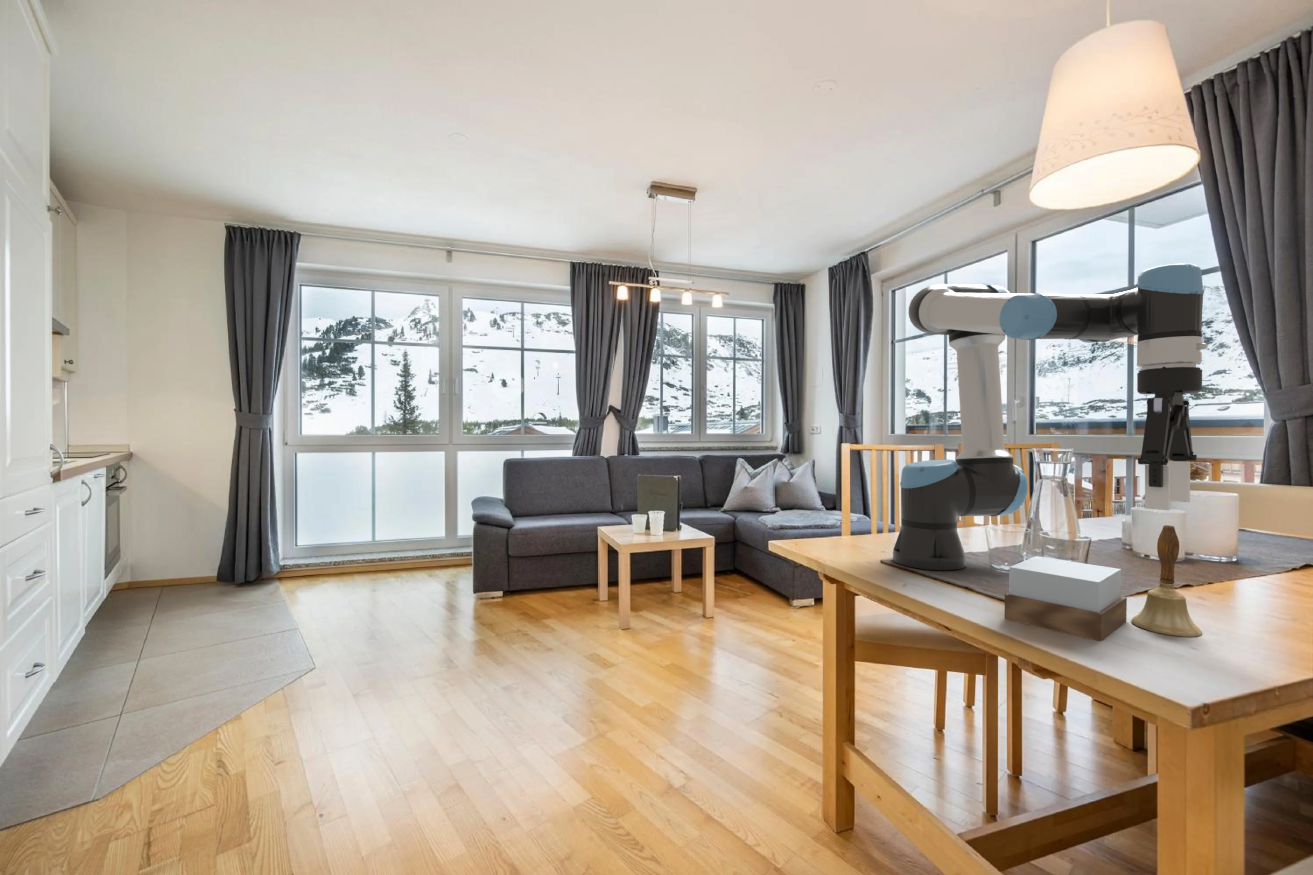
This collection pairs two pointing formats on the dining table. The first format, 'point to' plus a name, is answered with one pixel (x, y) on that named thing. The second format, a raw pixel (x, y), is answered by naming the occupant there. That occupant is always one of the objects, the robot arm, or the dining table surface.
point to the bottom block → (1067, 616)
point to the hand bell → (1167, 595)
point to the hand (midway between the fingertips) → (1168, 505)
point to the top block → (1065, 583)
